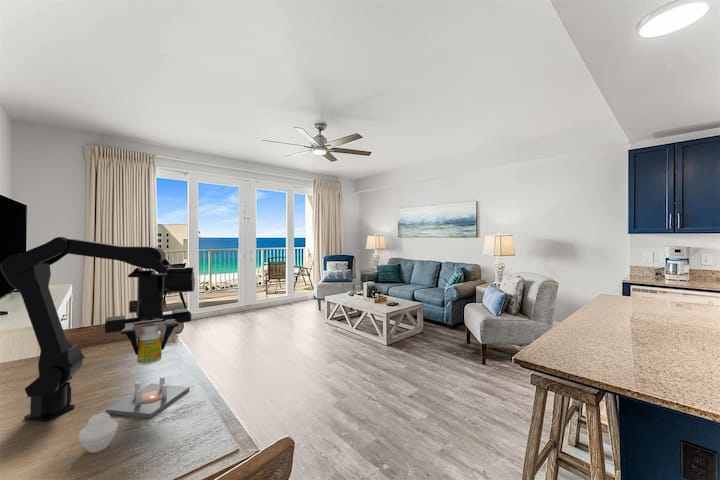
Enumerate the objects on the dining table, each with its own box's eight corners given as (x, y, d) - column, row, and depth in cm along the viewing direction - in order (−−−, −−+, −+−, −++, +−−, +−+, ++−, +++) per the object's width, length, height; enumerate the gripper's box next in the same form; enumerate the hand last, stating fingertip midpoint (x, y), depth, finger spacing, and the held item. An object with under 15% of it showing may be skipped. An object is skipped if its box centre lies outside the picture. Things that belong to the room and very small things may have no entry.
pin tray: (150, 418, 74) (150, 399, 74) (105, 413, 76) (106, 395, 76) (189, 390, 88) (189, 374, 88) (151, 387, 90) (151, 371, 90)
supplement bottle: (141, 367, 79) (142, 328, 79) (133, 361, 82) (134, 325, 82) (165, 360, 84) (165, 324, 84) (156, 355, 87) (157, 321, 87)
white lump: (85, 462, 59) (86, 425, 59) (73, 450, 63) (74, 415, 63) (123, 444, 65) (123, 411, 65) (110, 434, 68) (110, 402, 68)
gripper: (184, 286, 95) (183, 337, 95) (105, 292, 83) (104, 350, 83) (192, 291, 86) (191, 347, 86) (105, 299, 75) (104, 363, 75)
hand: (149, 351), depth 83 cm, fingers closed on supplement bottle, 5 cm apart
